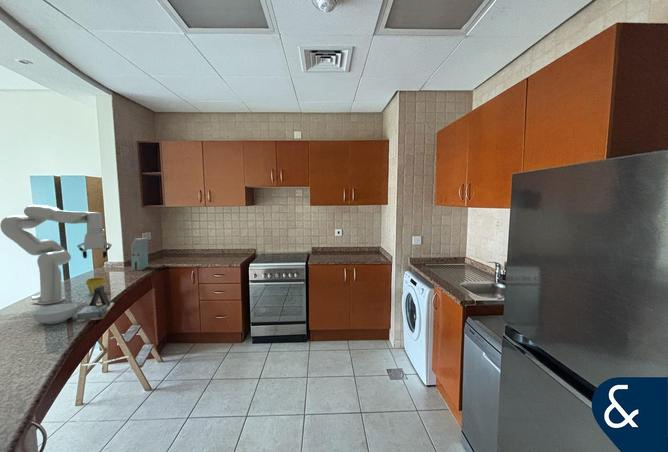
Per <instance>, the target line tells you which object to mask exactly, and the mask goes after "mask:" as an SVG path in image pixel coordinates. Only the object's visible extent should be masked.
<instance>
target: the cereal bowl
mask: <svg viewBox="0 0 668 452" xmlns="http://www.w3.org/2000/svg"><path fill="white" fill-rule="evenodd" d="M78 308H79V306H78V304H77V303H59V304H54V305H48V306H44V307H40V308H38V309H36V310H34V311H33V312H32V317H33V319H34V321H36V322H37V323H42V324H46V325H54V324H55V325H56V324H61V323H63V322H66V321H67V320H69V319H71V318H73V317H74V316H75V315H77V312H78Z"/></svg>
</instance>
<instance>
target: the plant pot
mask: <svg viewBox="0 0 668 452" xmlns="http://www.w3.org/2000/svg"><path fill="white" fill-rule="evenodd" d="M85 282H86V283H85V284H86V286H87V288H88V289H87V290H88V291H89V294H91V295H94V290H95V289H96V288H97V287H99V286H100V287H101V286H104V285H105V283H106V278H105V277H92V278H88V279H86V280H85ZM104 287H105V286H104Z"/></svg>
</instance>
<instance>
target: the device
mask: <svg viewBox="0 0 668 452" xmlns="http://www.w3.org/2000/svg"><path fill="white" fill-rule="evenodd" d="M148 243H149V238H148V237H139V238H138V237H137V238H134V239H133V242H132V243H131V245H130V246H131V250H130V251H131V255H130V257H131V262H130V263H131V271H142V270H145V269H146V267H147V268H148V267H149V246H148V245H149V244H148Z"/></svg>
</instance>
